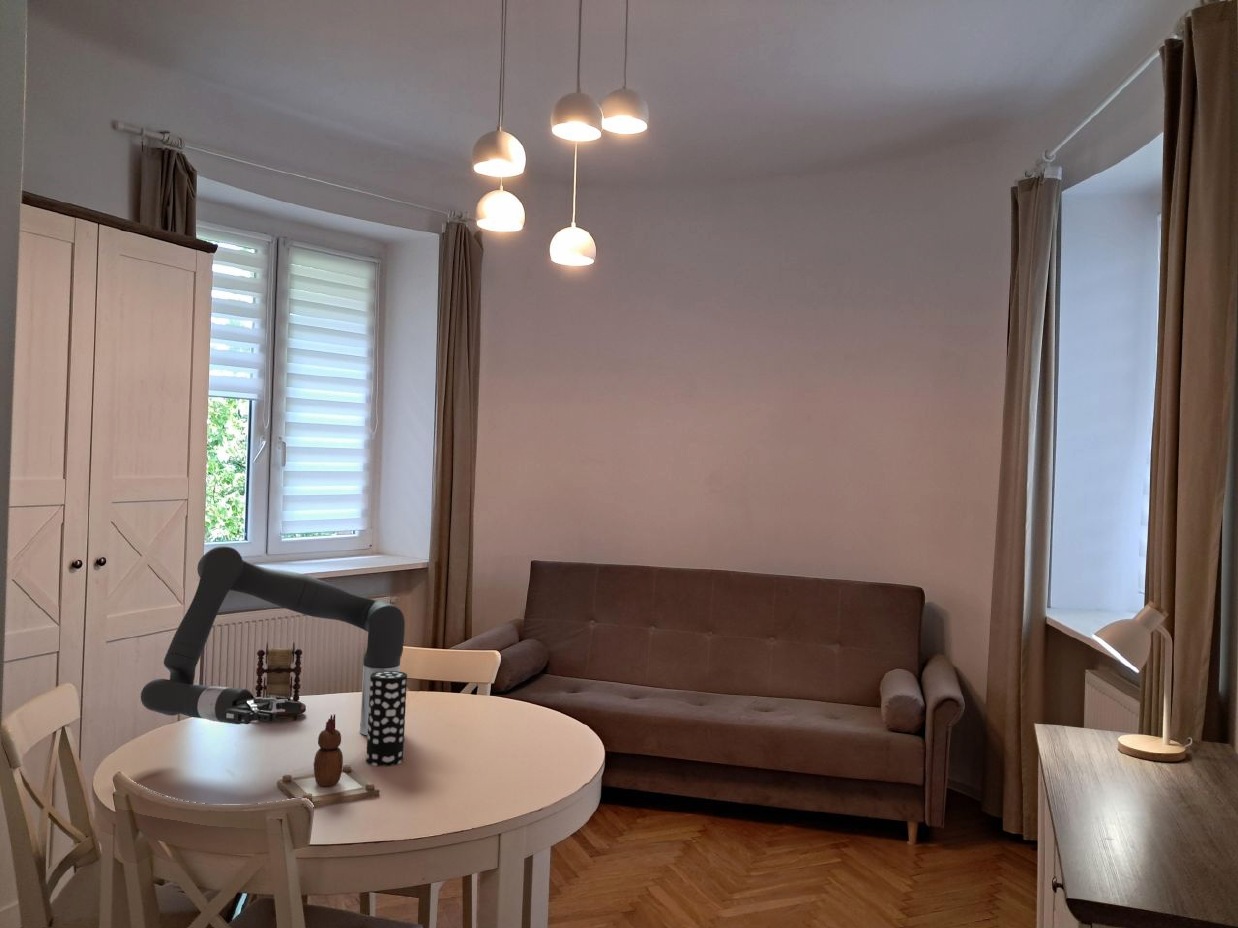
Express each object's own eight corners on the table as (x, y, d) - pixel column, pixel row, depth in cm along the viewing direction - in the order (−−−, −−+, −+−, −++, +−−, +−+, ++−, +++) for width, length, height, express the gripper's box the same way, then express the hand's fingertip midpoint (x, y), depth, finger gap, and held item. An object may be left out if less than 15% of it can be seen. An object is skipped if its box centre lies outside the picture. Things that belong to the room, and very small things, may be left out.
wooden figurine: (342, 788, 187) (345, 715, 187) (312, 790, 185) (316, 716, 186) (341, 777, 194) (345, 707, 194) (312, 779, 192) (316, 708, 192)
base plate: (350, 773, 201) (351, 763, 201) (379, 795, 188) (379, 784, 188) (277, 785, 191) (277, 775, 191) (301, 809, 178) (302, 798, 178)
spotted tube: (409, 758, 213) (414, 673, 214) (389, 768, 205) (394, 680, 206) (379, 753, 216) (383, 669, 216) (358, 762, 208) (363, 675, 208)
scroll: (304, 708, 253) (308, 637, 253) (306, 722, 239) (310, 646, 240) (248, 710, 248) (251, 637, 248) (245, 725, 234) (250, 648, 234)
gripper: (202, 694, 192) (266, 702, 188) (248, 680, 206) (309, 687, 201) (201, 730, 192) (265, 738, 187) (247, 713, 206) (308, 721, 201)
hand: (287, 712), depth 194 cm, fingers open, 8 cm apart
